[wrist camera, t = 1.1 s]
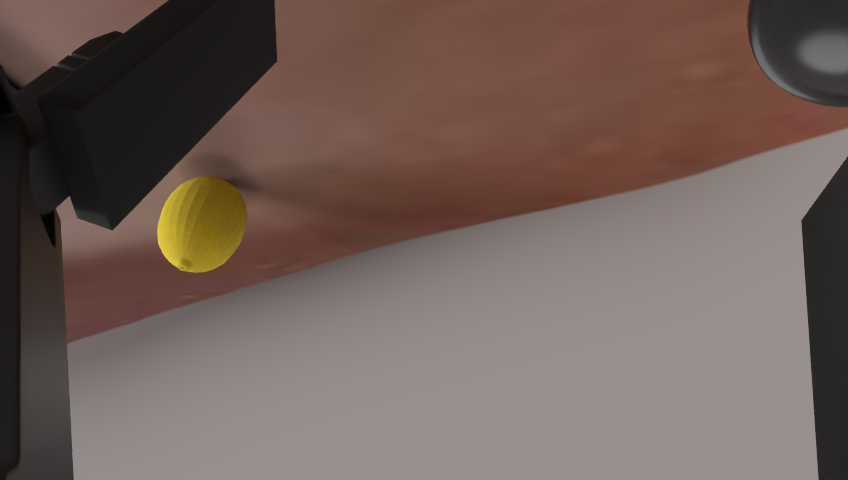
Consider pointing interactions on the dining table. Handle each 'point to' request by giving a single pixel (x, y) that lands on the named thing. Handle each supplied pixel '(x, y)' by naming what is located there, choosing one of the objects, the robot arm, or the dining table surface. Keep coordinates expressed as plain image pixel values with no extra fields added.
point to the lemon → (202, 224)
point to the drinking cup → (802, 47)
